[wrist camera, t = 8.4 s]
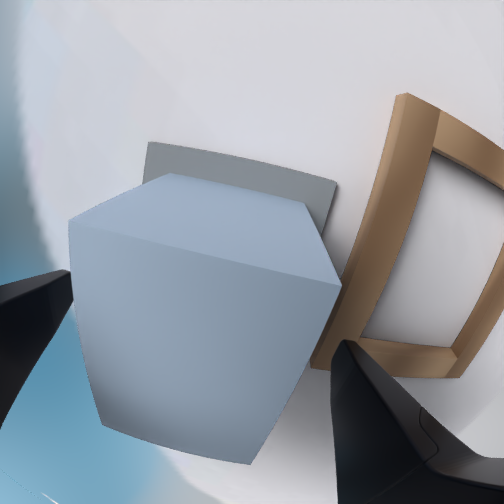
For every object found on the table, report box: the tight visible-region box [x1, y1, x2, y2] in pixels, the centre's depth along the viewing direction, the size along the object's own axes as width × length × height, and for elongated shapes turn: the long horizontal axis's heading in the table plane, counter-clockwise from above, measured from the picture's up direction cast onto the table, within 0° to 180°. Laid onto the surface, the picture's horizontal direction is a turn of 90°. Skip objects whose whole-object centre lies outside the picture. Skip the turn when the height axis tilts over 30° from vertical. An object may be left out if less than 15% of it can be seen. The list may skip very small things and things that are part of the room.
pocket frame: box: [310, 93, 504, 378], centre depth 11 cm, size 10×12×1 cm
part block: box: [68, 173, 342, 465], centre depth 9 cm, size 5×7×6 cm
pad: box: [142, 142, 337, 237], centre depth 12 cm, size 7×9×1 cm
